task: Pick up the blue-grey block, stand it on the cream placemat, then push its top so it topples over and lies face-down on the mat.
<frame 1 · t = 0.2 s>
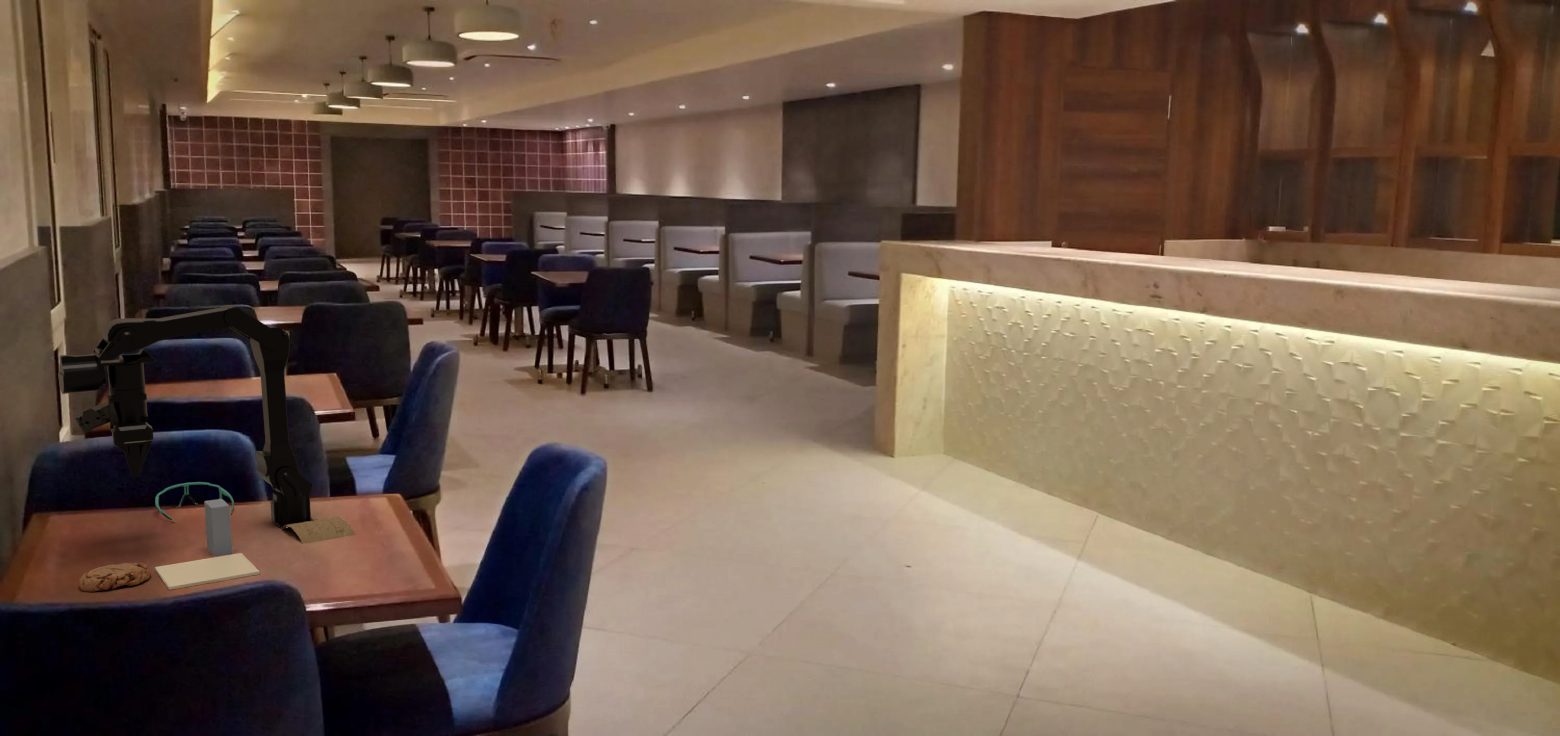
hand: (134, 471, 211), 14 cm above the table, tool pointing down, fingers open, 9 cm apart
clay tablet: (317, 536, 224), on the table
placemat: (207, 571, 199), on the table
blue-grey block: (219, 550, 211), on the table
cookie: (115, 585, 193), on the table
sunglasses: (195, 514, 238), on the table
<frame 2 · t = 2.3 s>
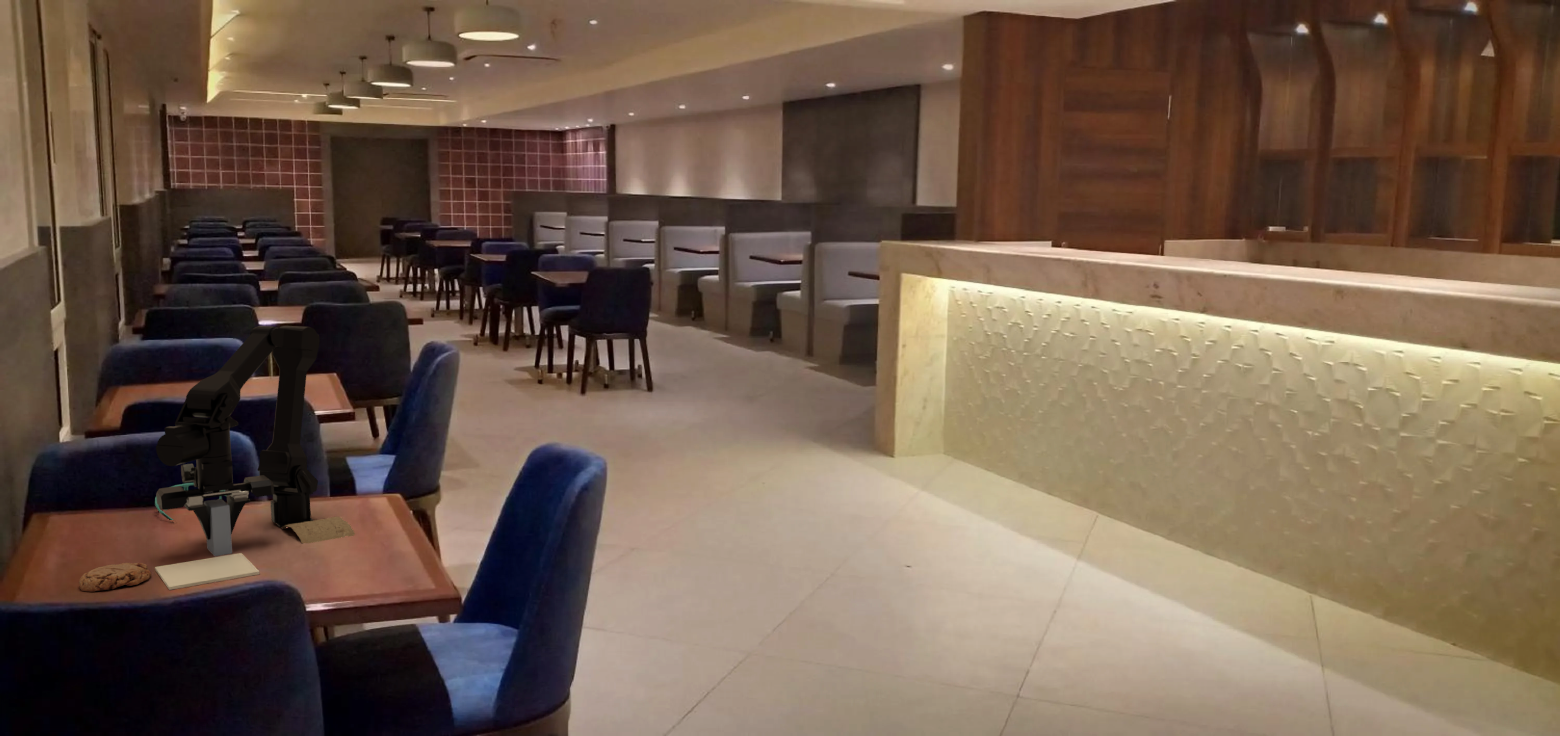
hand: (218, 537, 211), 3 cm above the table, tool pointing down, fingers closed on blue-grey block, 3 cm apart
blue-grey block: (219, 550, 211), on the table, touching gripper
everything else where it was.
when the fingers open (3 cm above the table, at t = 6.2 s): blue-grey block stays where it is, resting on placemat.
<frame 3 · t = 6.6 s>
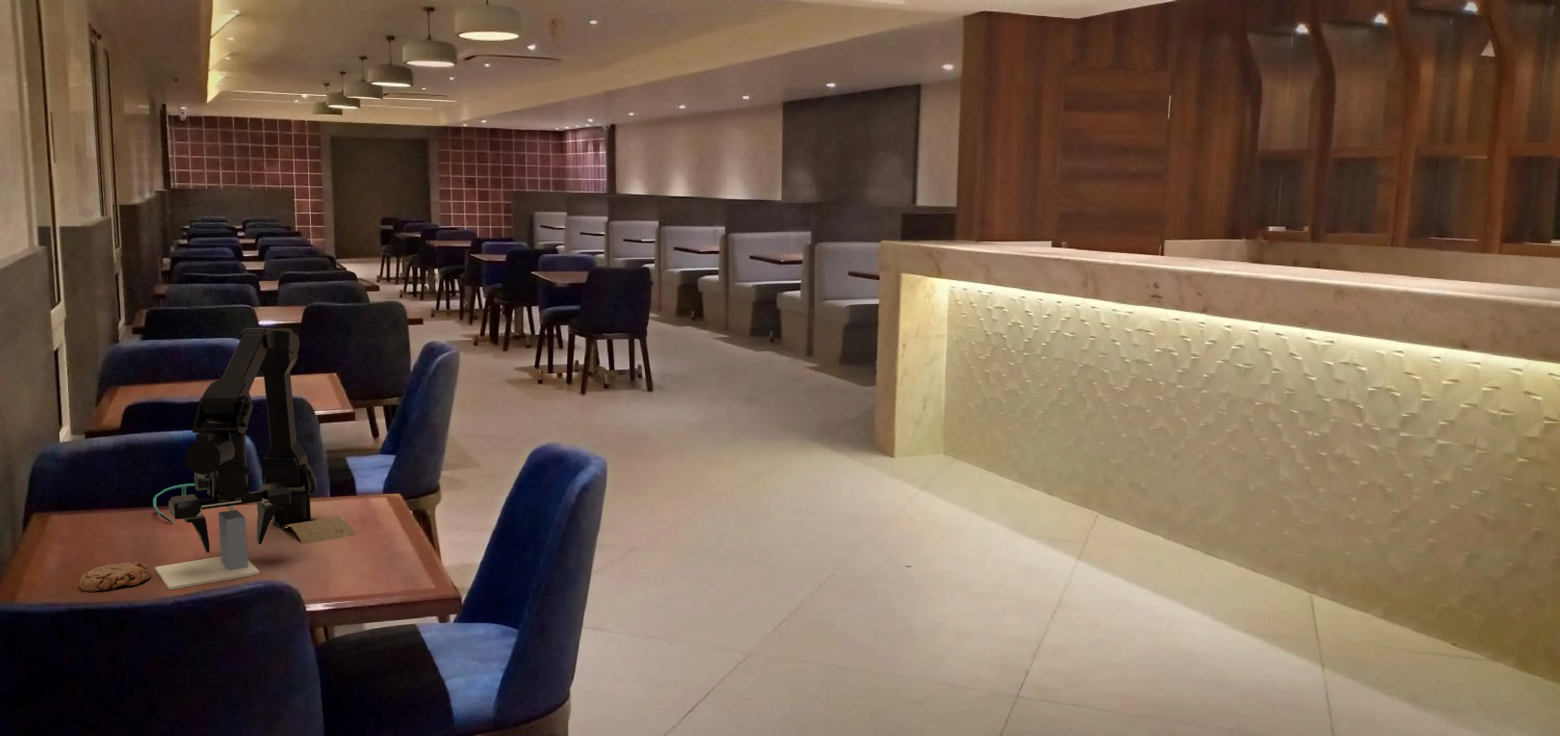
hand: (233, 547, 201), 3 cm above the table, tool pointing down, fingers open, 8 cm apart
blue-grey block: (234, 564, 202), resting on placemat
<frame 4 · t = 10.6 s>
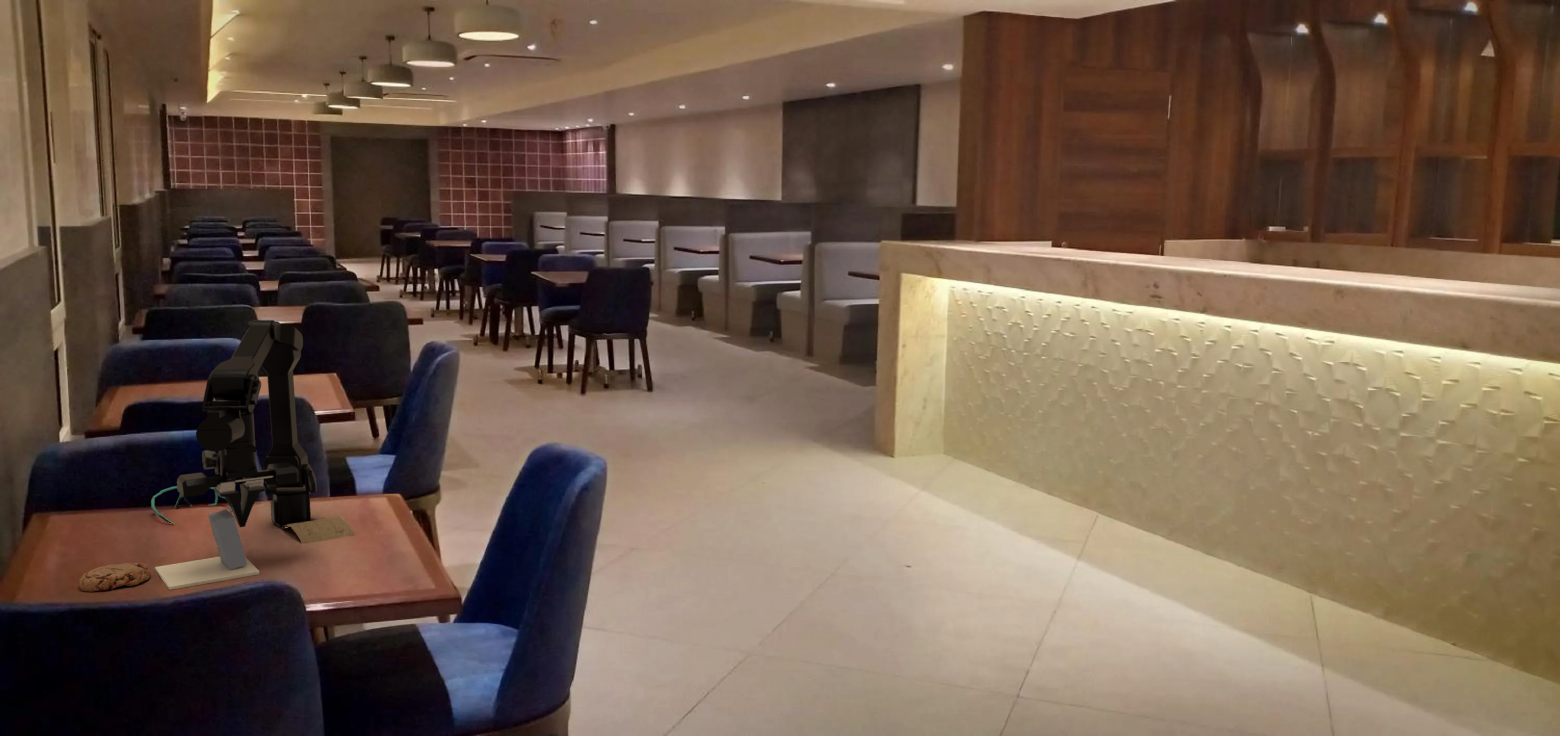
hand: (241, 526, 202), 7 cm above the table, tool pointing down, fingers closed
blue-grey block: (234, 562, 202), point 1 cm above the table, tilted 11°, touching placemat
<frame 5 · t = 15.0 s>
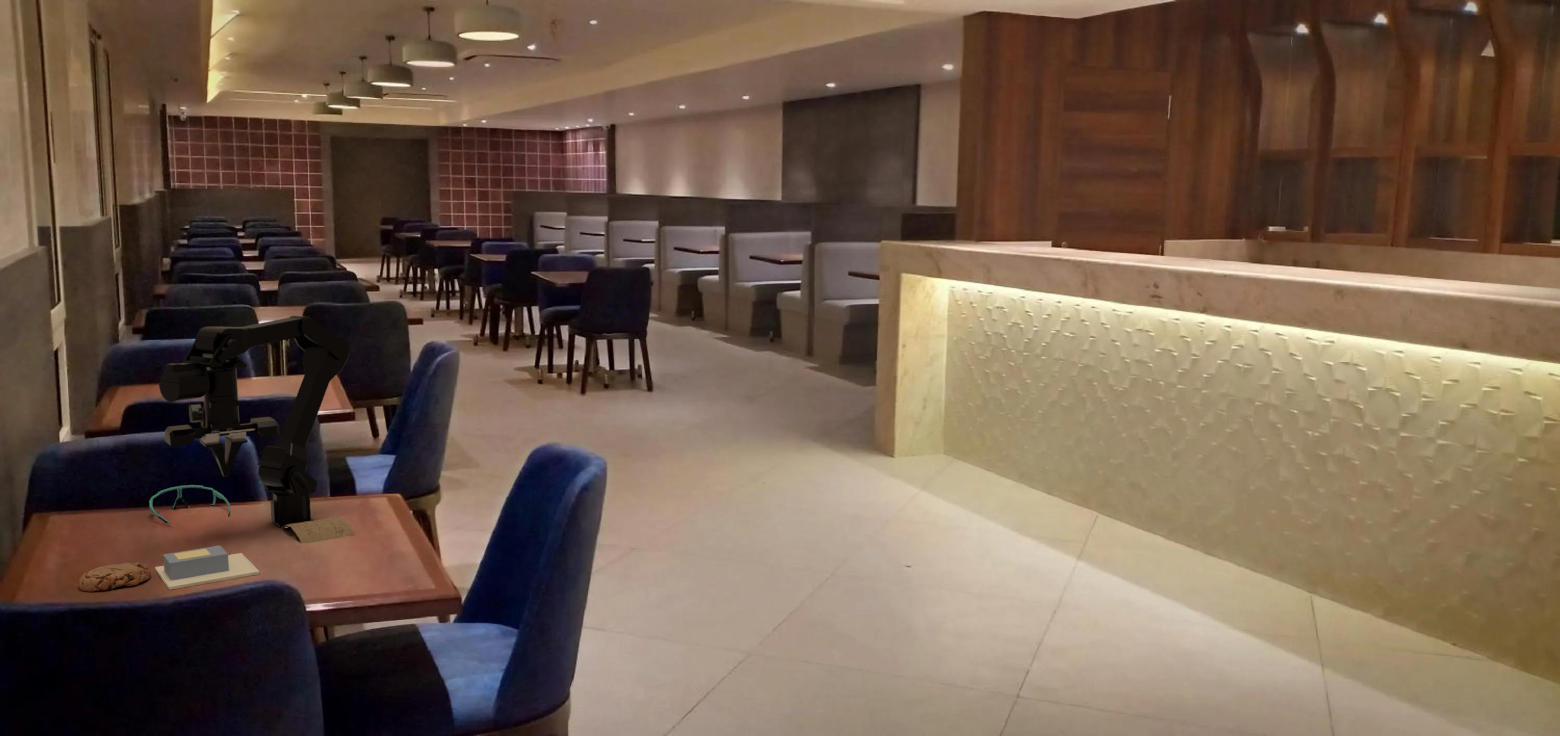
hand: (225, 475, 216), 13 cm above the table, tool pointing down, fingers closed
blue-grey block: (224, 557, 201), point 2 cm above the table, tilted 90°, touching placemat
at the end: blue-grey block tilted 90°; blue-grey block inside the target area (1.9 cm from its centre), point 2.0 cm above the table; the gripper is holding nothing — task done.
